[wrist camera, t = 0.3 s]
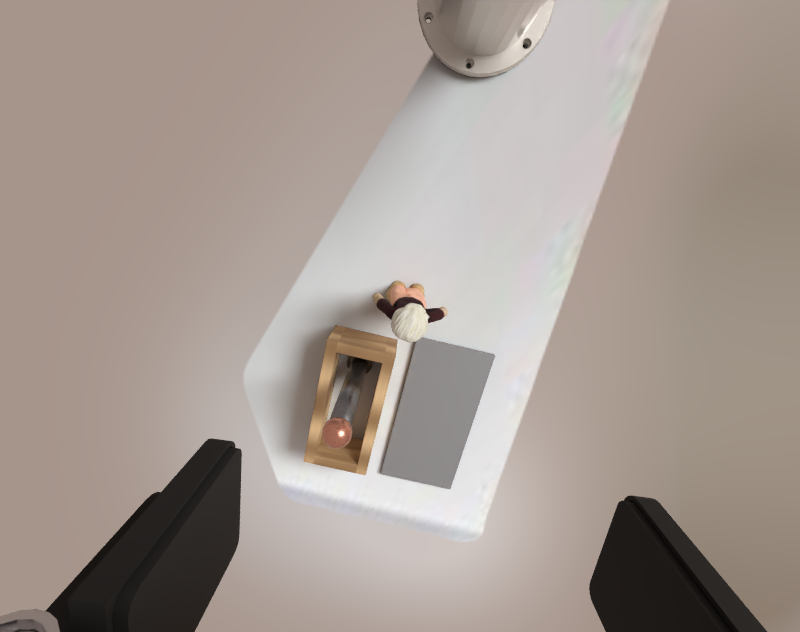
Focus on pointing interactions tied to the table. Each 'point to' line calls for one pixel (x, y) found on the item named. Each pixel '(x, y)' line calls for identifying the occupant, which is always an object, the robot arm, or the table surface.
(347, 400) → the post stand
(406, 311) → the grandmother figurine
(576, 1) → the table surface
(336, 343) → the open wooden frame
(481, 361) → the rubber mat
